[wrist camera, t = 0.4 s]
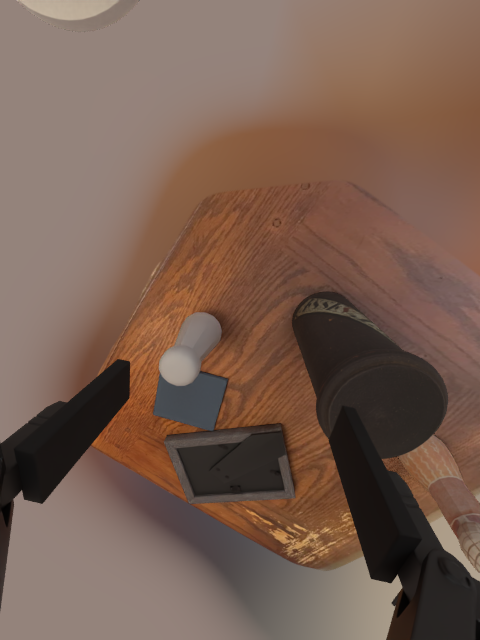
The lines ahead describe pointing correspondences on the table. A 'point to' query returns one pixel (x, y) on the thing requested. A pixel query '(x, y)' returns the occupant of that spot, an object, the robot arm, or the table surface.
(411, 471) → the vase
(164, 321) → the table surface
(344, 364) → the container
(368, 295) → the table surface
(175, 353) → the salt shaker
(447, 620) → the robot arm
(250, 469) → the picture frame
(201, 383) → the mat
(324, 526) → the table surface
